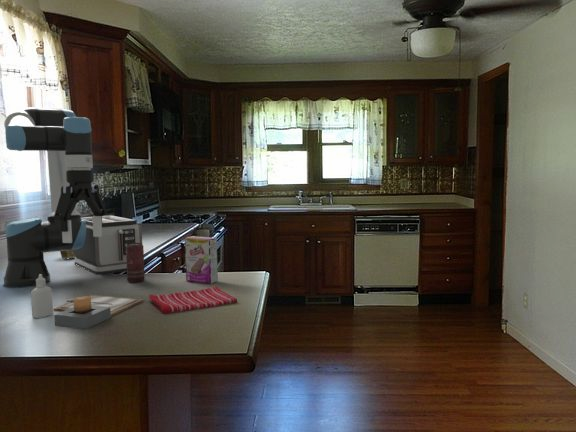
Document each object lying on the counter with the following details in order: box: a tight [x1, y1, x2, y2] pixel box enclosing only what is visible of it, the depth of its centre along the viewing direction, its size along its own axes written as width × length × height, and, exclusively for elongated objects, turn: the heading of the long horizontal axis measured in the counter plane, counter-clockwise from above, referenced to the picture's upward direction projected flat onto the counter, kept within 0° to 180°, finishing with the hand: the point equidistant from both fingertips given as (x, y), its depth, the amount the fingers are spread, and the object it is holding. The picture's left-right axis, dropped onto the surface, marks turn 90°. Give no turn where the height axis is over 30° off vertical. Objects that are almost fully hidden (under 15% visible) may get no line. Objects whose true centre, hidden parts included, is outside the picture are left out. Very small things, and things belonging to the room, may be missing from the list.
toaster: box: [73, 215, 143, 275], centre depth 205 cm, size 19×35×20 cm, turn 40°
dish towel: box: [148, 286, 238, 315], centre depth 150 cm, size 17×24×3 cm
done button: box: [72, 295, 91, 311], centre depth 131 cm, size 4×4×3 cm
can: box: [126, 242, 146, 284], centre depth 178 cm, size 6×6×14 cm
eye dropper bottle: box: [30, 274, 54, 319], centre depth 136 cm, size 4×6×12 cm
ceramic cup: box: [59, 250, 75, 259], centre depth 227 cm, size 13×10×10 cm
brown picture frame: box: [53, 294, 145, 317], centre depth 147 cm, size 22×16×1 cm
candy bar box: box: [184, 235, 219, 285], centre depth 176 cm, size 11×5×16 cm, turn 65°
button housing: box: [53, 305, 112, 330], centre depth 131 cm, size 10×10×3 cm
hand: (83, 239), depth 147 cm, fingers open, 13 cm apart
